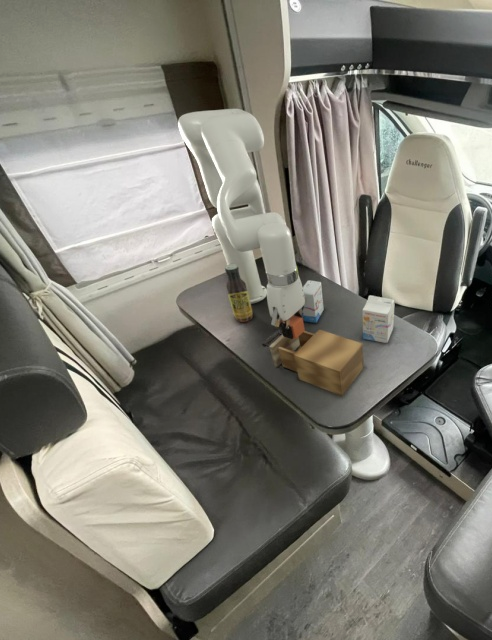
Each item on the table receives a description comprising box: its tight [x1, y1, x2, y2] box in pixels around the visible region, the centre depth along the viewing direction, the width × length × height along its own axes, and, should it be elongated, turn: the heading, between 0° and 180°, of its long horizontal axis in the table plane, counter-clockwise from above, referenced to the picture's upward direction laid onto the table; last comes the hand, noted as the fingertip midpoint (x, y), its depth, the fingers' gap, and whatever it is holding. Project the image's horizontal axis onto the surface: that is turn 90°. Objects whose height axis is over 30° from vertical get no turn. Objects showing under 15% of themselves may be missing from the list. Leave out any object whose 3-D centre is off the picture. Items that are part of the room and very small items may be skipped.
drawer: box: [261, 329, 315, 373], centre depth 108 cm, size 19×11×8 cm, turn 64°
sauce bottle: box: [224, 264, 254, 323], centre depth 121 cm, size 7×6×20 cm
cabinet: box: [294, 329, 364, 397], centre depth 104 cm, size 15×13×10 cm
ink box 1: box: [302, 280, 325, 324], centre depth 125 cm, size 9×5×12 cm, turn 168°
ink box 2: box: [362, 294, 396, 344], centre depth 117 cm, size 9×8×13 cm
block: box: [283, 315, 306, 339], centre depth 102 cm, size 4×4×4 cm
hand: (293, 331), depth 103 cm, fingers closed on block, 4 cm apart
